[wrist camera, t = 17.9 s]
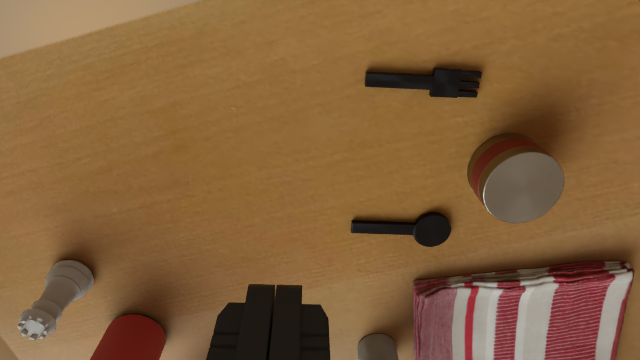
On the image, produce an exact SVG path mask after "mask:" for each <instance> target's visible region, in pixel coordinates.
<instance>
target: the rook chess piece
mask: <svg viewBox="0 0 640 360" xmlns="http://www.w3.org/2000/svg"><path fill="white" fill-rule="evenodd" d="M93 281H94V278H93V275H92V273H91V271H90V269H89V268H88V267H87V266H86V265H84V264H83V263H81V262H79V261H74V260H66V261H60V262H58V263H56V264H54V265H53V267H52V268H51V270H50V271H49V273H48V274H47V276H46V284H45V291H44V292H43V294H42V296H41V298H40V299H39V300H38V301H36V302H34V303H33V304H32V309H28V310H26V311H24V312H22V314H21V315H20V323H19V325H18V330H21V329H23V330H22V332H21V333H20V334H21V335H22V336H23V337H25V336H26V335H27V333H28V334H30V335H31V337H30V340H36V338H37V337H38V338H39V339H40V340H41V339H43V338H44V337H45V336H46V335H49V334H51V333H53V332H54V331H55V329H56V321H57V320H59V319H60V318H61V316H62V311H63V310H64V309H65V308H66V307H67V306H68V305H69V304H70V303H71V302H73V301H75V300H77V299H80V298H82V297H83V296H85V295H86V293H87V292H88V291H89V290H90V289H91V287H92V286H93Z"/></svg>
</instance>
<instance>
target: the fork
mask: <svg viewBox="0 0 640 360" xmlns="http://www.w3.org/2000/svg"><path fill="white" fill-rule="evenodd" d="M481 75H482V72H480V71H466V70H461V69H448V68H433V74H432V75H427V74H406V73H385V72H366V76H365V86H366V87H383V88H405V89H426V90H430V93H429V95H430V96H431V97H452V98H457V97H477V94H478V92H477V91H475V90H459V87H468V88H479V84H480V82H478V81H468V80H461V77H464V78H481Z"/></svg>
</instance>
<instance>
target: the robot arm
mask: <svg viewBox="0 0 640 360" xmlns="http://www.w3.org/2000/svg"><path fill="white" fill-rule="evenodd" d="M206 360H330V345H329V323H328V317H327V315H326V314H325V312H324V310H323V309H322V307H321V305H312V304H302V285H277V287H276V296H275V285H262V284H249V286H248V291H247V296H246V301H245V303H228V304H227V305H226V307H225V308H224V309H223V310H222V311H221V313H220V314H219V315H218V317H217V321H216V324H215V328H214V334H213V336H212V340H211V344H210V348H209V351H208V355H207V359H206Z"/></svg>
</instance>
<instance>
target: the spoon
mask: <svg viewBox="0 0 640 360" xmlns="http://www.w3.org/2000/svg"><path fill="white" fill-rule="evenodd" d="M450 232H451V225H450V223H449V221H448V219H447V218H446V217H445V216H444V215H442V214H440V213H437V212H429V213H425V214H423V215H421V216H420V217H419V218H417V219H416V221H415V222H387V221H359V220H352V223H351V233H369V234H398V235H414V238H415V240H416V241H417V242H418V243H419V244H421V245H423V246H427V247H433V246H437V245H440V244H442V243H443V242H445V241H446V240H447V238H448V237H449V235H450Z"/></svg>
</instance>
